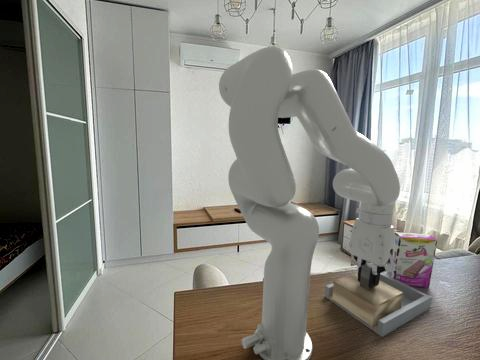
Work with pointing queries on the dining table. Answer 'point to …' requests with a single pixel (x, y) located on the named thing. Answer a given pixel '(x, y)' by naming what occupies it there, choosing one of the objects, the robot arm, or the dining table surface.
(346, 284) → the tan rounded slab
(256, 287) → the dining table surface
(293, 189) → the robot arm
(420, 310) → the bay
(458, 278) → the dining table surface
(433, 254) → the candy bar box
